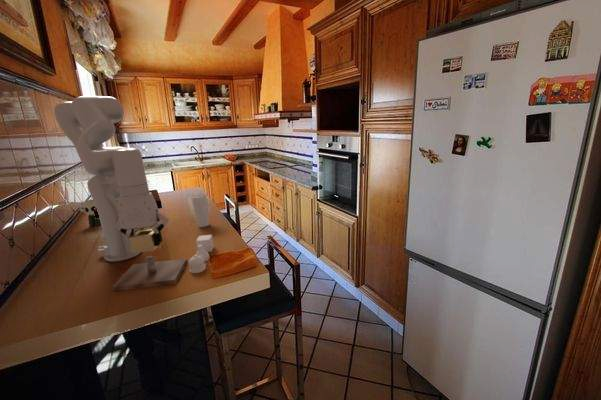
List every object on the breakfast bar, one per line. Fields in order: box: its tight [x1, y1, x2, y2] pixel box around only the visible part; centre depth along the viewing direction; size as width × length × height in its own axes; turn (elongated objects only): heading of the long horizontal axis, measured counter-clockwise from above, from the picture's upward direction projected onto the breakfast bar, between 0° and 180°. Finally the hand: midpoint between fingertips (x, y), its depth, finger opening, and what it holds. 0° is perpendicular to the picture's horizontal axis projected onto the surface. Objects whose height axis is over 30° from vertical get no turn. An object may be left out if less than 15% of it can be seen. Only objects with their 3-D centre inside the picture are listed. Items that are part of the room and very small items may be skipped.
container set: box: [188, 234, 215, 274], centre depth 101 cm, size 20×5×6 cm, turn 7°
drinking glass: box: [191, 193, 210, 228], centre depth 134 cm, size 7×7×15 cm
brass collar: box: [129, 228, 163, 253], centre depth 89 cm, size 6×6×5 cm
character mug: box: [78, 198, 101, 227], centre depth 146 cm, size 11×7×13 cm, turn 107°
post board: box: [111, 255, 188, 292], centre depth 91 cm, size 18×14×6 cm
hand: (147, 245), depth 89 cm, fingers closed on brass collar, 6 cm apart
